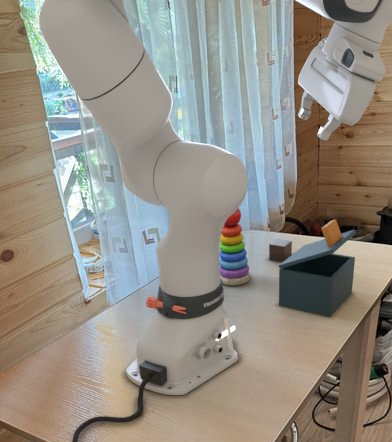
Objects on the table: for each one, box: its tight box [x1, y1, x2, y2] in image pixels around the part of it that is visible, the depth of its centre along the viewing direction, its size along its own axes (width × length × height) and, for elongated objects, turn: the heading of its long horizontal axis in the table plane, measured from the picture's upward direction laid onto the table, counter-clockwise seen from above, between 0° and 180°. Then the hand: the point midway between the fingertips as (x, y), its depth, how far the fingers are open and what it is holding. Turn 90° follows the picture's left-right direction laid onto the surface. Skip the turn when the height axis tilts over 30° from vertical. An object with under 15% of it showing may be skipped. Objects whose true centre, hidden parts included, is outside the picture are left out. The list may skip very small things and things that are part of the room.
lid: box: [278, 219, 357, 269], centre depth 109 cm, size 13×13×5 cm
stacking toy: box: [219, 207, 251, 286], centre depth 123 cm, size 8×8×19 cm
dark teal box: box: [278, 253, 356, 318], centre depth 114 cm, size 12×13×9 cm
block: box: [268, 238, 293, 263], centre depth 136 cm, size 4×4×4 cm
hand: (311, 128), depth 98 cm, fingers open, 8 cm apart
